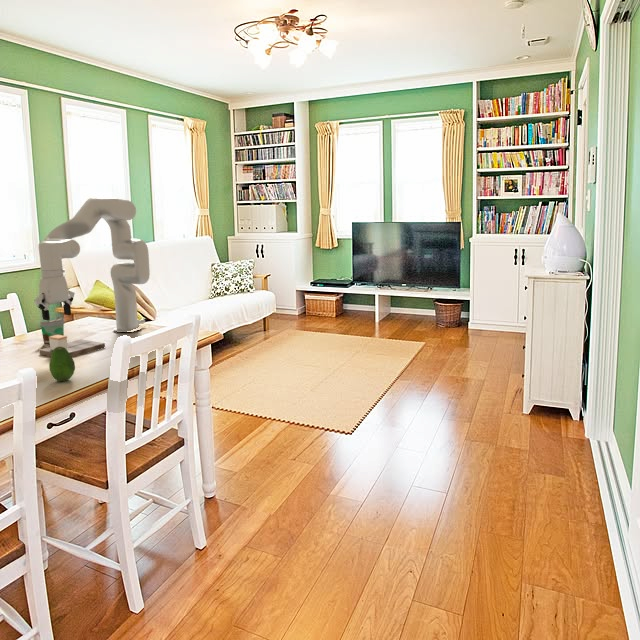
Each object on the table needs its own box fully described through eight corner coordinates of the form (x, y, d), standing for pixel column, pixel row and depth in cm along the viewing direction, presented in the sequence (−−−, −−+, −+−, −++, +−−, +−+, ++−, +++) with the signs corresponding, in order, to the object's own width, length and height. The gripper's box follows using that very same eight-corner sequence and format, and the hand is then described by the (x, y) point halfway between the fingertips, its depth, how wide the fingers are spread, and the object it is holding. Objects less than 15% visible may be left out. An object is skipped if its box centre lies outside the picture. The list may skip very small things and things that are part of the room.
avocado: (45, 383, 194) (42, 348, 192) (59, 376, 202) (56, 343, 199) (67, 385, 193) (64, 350, 190) (81, 378, 201) (78, 344, 198)
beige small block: (58, 347, 232) (57, 334, 231) (67, 349, 229) (66, 336, 228) (49, 349, 228) (48, 336, 227) (59, 351, 226) (58, 338, 225)
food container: (54, 346, 243) (52, 322, 241) (41, 345, 244) (39, 322, 242) (72, 339, 254) (71, 316, 252) (60, 338, 256) (58, 316, 254)
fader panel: (81, 343, 247) (81, 339, 246) (105, 347, 240) (104, 342, 240) (39, 354, 229) (39, 349, 229) (64, 359, 223) (63, 354, 223)
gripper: (64, 270, 232) (69, 311, 236) (25, 276, 217) (31, 321, 221) (77, 271, 228) (82, 313, 232) (39, 277, 214) (44, 323, 218)
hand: (57, 317), depth 227 cm, fingers open, 9 cm apart
